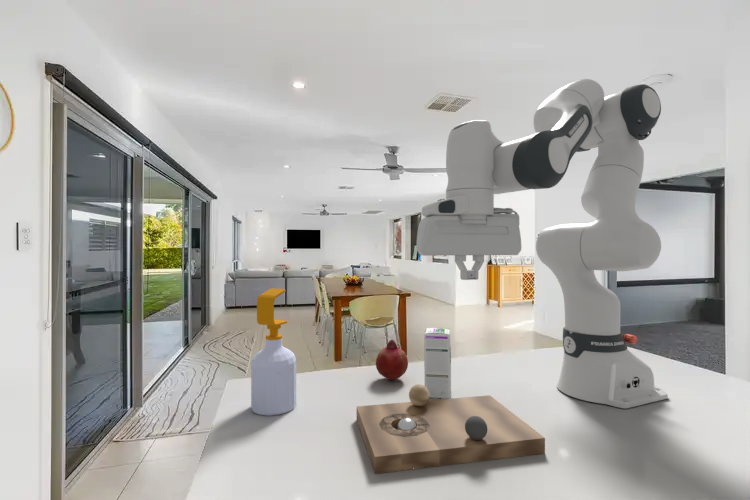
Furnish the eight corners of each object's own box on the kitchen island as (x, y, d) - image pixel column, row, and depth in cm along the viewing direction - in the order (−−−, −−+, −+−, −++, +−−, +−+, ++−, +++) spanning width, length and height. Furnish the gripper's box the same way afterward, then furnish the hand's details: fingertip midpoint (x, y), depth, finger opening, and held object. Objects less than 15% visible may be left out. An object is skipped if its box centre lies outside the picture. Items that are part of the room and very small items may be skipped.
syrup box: (451, 399, 83) (451, 333, 83) (423, 397, 84) (423, 332, 84) (451, 390, 88) (451, 328, 88) (425, 388, 90) (425, 326, 89)
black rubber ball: (481, 432, 63) (481, 411, 63) (491, 443, 60) (491, 420, 60) (461, 434, 62) (461, 413, 62) (470, 445, 59) (470, 422, 59)
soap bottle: (304, 402, 81) (304, 288, 81) (276, 420, 73) (276, 292, 73) (271, 395, 85) (271, 286, 85) (241, 411, 77) (241, 290, 77)
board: (489, 407, 79) (489, 395, 79) (544, 453, 61) (544, 437, 61) (356, 419, 73) (356, 406, 73) (374, 473, 56) (374, 456, 56)
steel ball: (417, 420, 68) (402, 410, 68) (423, 429, 65) (407, 419, 64) (406, 437, 68) (390, 427, 67) (412, 447, 64) (395, 437, 64)
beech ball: (425, 400, 76) (425, 380, 76) (432, 409, 72) (432, 388, 72) (406, 402, 75) (406, 382, 75) (412, 410, 71) (412, 389, 71)
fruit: (413, 378, 97) (413, 338, 97) (398, 387, 90) (398, 345, 90) (386, 372, 101) (386, 334, 101) (369, 381, 94) (369, 341, 94)
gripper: (510, 209, 77) (509, 277, 78) (413, 207, 73) (413, 279, 74) (528, 206, 71) (528, 280, 71) (424, 204, 67) (424, 282, 67)
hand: (469, 279), depth 72 cm, fingers closed
